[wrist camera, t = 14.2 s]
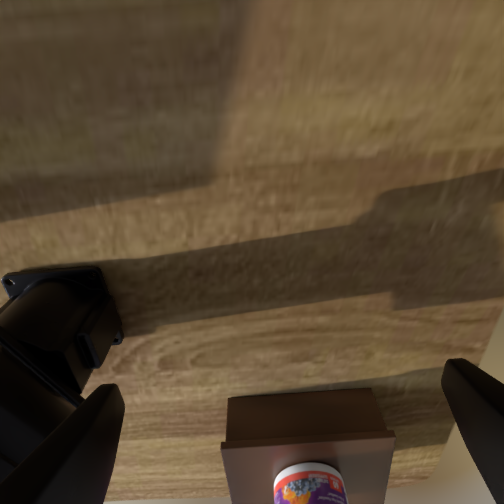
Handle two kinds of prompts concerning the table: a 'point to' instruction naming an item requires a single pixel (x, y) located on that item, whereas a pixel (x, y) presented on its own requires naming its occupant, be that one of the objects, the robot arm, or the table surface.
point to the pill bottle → (309, 485)
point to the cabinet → (307, 442)
